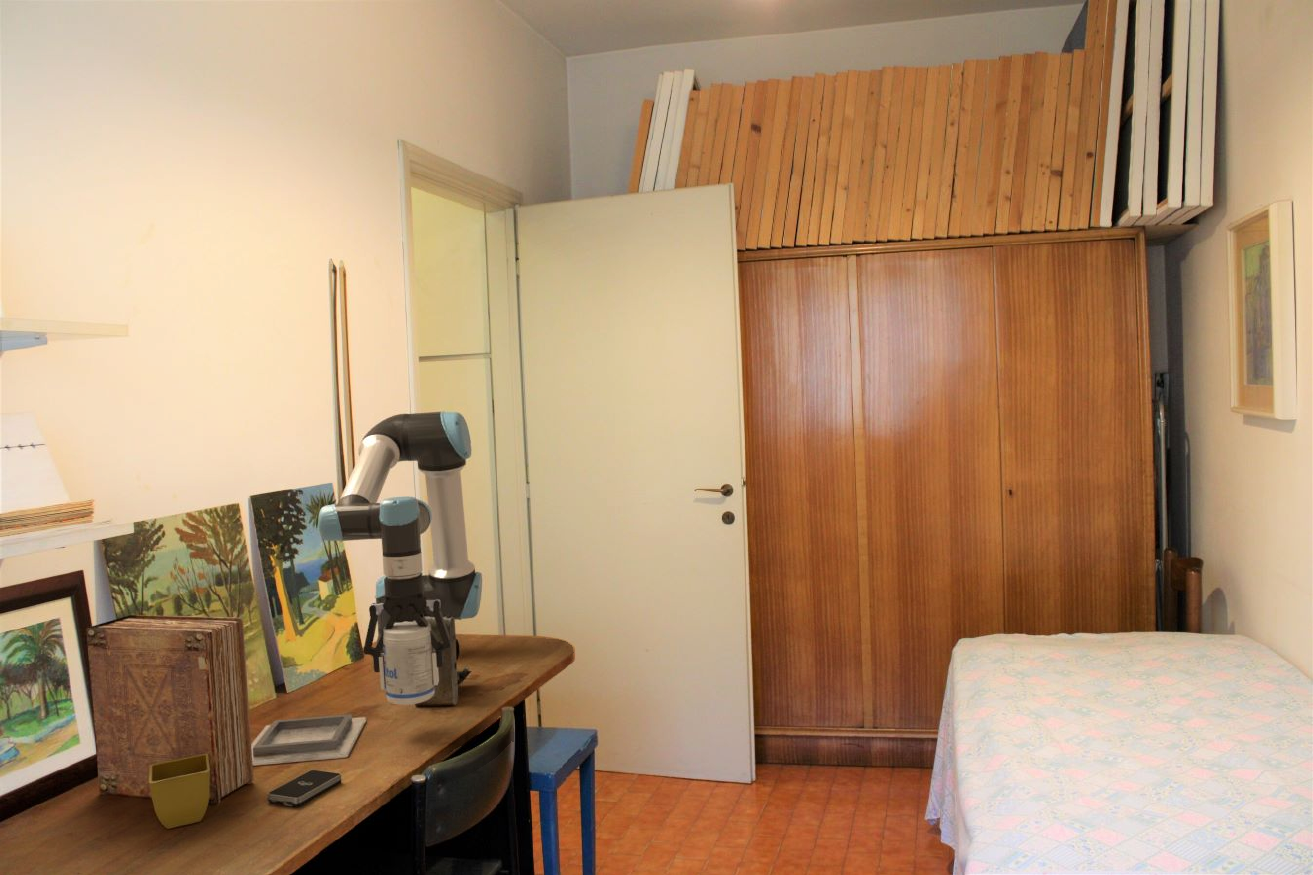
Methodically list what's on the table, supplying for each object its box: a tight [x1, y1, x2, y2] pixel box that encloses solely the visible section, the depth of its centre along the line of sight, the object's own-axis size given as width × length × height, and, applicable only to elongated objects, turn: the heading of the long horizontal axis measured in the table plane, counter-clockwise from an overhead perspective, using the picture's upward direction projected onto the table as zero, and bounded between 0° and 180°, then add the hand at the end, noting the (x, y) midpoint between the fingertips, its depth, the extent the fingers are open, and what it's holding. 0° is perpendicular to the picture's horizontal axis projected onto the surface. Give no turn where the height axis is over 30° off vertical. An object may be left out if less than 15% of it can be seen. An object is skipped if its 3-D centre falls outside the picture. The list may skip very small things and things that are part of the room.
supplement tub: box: [383, 621, 435, 706], centre depth 191 cm, size 10×10×15 cm
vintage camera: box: [414, 615, 472, 707], centre depth 215 cm, size 10×16×20 cm, turn 174°
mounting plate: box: [251, 713, 367, 767], centre depth 189 cm, size 20×20×3 cm
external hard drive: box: [267, 768, 342, 808], centre depth 165 cm, size 7×11×2 cm, turn 158°
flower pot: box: [149, 754, 210, 830], centre depth 156 cm, size 9×9×9 cm
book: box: [85, 614, 255, 806], centre depth 169 cm, size 25×9×30 cm, turn 74°
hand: (410, 685), depth 191 cm, fingers closed on supplement tub, 10 cm apart
